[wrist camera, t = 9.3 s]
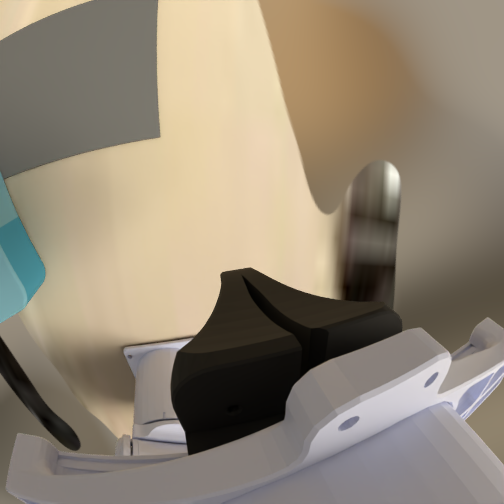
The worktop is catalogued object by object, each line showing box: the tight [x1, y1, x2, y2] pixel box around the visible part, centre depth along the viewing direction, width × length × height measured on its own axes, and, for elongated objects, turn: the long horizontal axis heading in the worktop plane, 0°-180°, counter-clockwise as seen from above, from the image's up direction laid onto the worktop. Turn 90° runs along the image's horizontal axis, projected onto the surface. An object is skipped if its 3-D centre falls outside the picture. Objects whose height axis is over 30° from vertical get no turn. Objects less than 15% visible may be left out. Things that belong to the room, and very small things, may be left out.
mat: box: [0, 0, 160, 179], centre depth 13 cm, size 14×22×1 cm, turn 93°
